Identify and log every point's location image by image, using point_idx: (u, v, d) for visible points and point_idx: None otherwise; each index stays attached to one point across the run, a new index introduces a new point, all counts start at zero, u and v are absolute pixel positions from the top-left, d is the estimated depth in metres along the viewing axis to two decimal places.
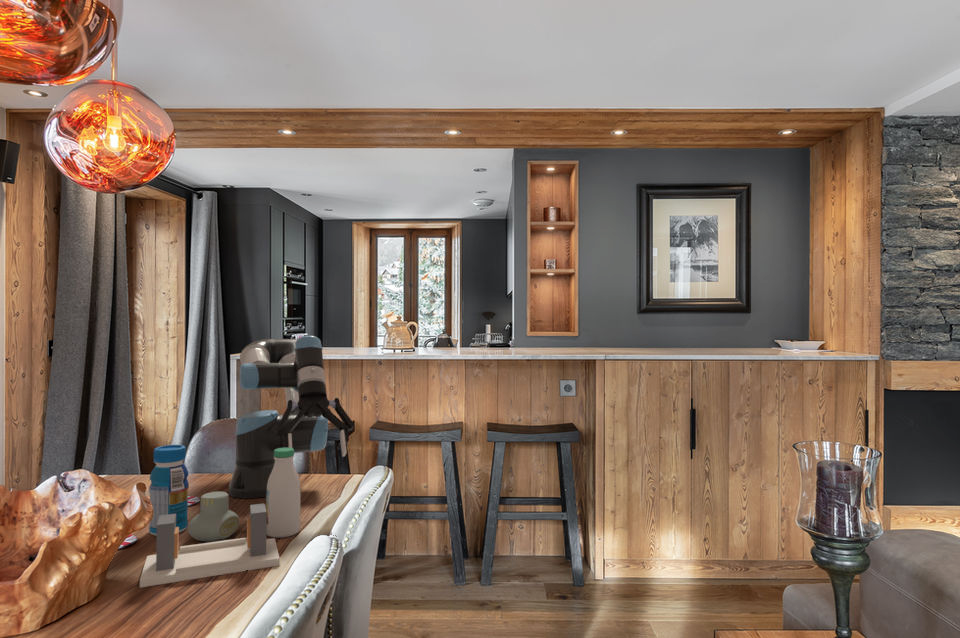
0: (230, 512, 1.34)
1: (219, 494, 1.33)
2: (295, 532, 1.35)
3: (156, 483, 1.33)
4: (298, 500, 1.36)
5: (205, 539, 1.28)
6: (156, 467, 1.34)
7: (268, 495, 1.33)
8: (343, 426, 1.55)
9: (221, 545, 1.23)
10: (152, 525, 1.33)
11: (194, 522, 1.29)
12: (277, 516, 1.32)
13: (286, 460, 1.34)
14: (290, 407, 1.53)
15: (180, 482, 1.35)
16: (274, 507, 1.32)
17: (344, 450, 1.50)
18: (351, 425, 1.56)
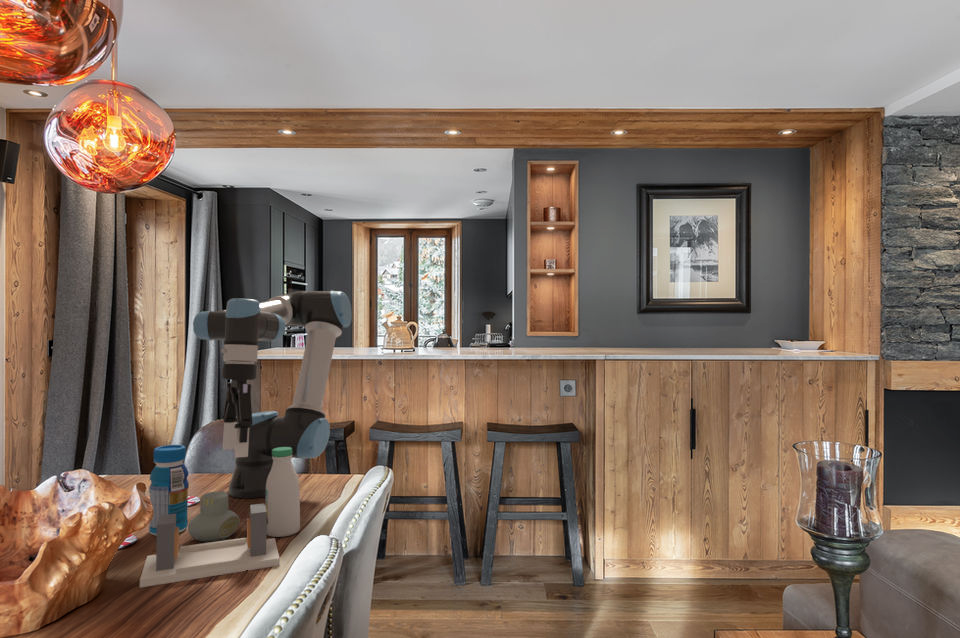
0: (230, 512, 1.34)
1: (220, 494, 1.33)
2: (295, 531, 1.35)
3: (156, 483, 1.33)
4: (297, 499, 1.36)
5: (205, 539, 1.28)
6: (156, 467, 1.34)
7: (267, 495, 1.34)
8: (237, 423, 1.29)
9: (221, 545, 1.23)
10: (152, 525, 1.33)
11: (194, 521, 1.29)
12: (277, 515, 1.33)
13: (284, 459, 1.35)
14: (227, 391, 1.40)
15: (180, 482, 1.35)
16: (273, 507, 1.32)
17: (235, 454, 1.28)
18: (239, 423, 1.27)
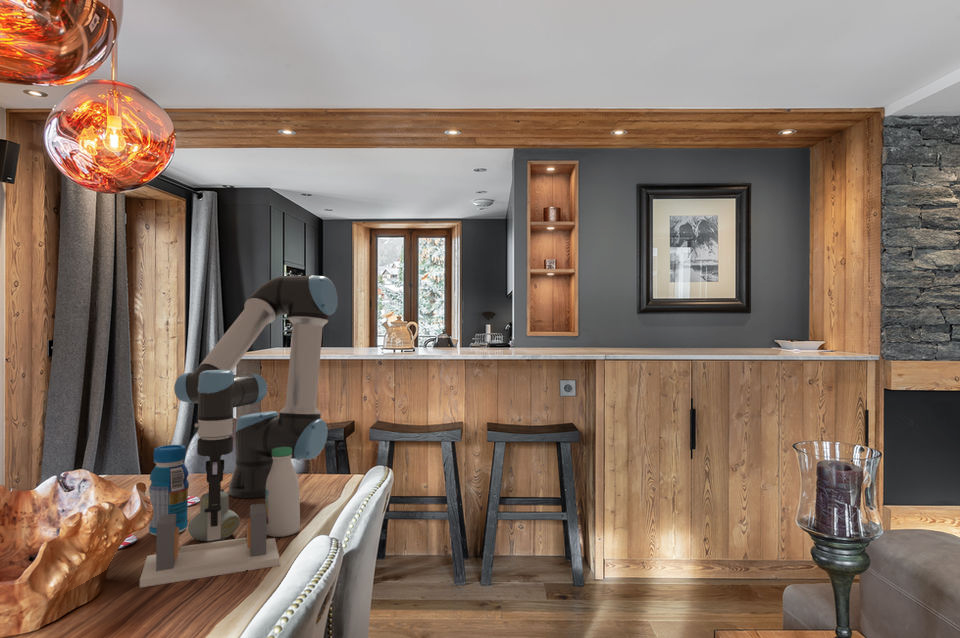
0: (230, 512, 1.34)
1: None
2: (296, 530, 1.35)
3: (156, 483, 1.33)
4: (298, 498, 1.36)
5: (205, 539, 1.28)
6: (156, 467, 1.34)
7: (268, 495, 1.33)
8: None
9: (221, 545, 1.23)
10: (152, 525, 1.33)
11: (194, 521, 1.29)
12: (278, 515, 1.33)
13: (285, 459, 1.35)
14: None
15: (180, 482, 1.35)
16: (274, 506, 1.33)
17: None
18: None
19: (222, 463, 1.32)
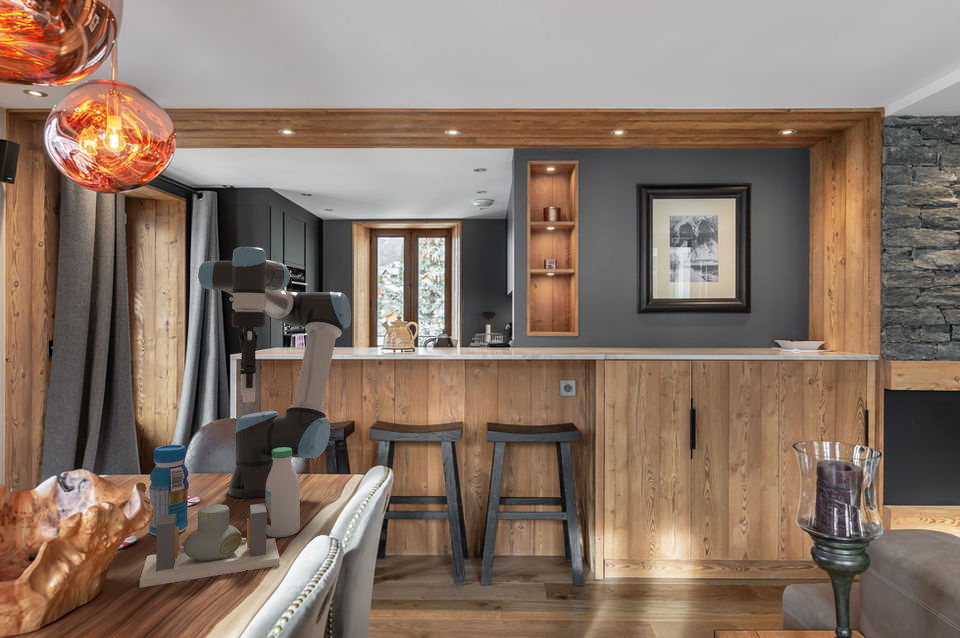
0: (231, 528, 1.19)
1: (219, 508, 1.18)
2: (298, 530, 1.36)
3: (156, 483, 1.33)
4: (299, 498, 1.37)
5: (203, 559, 1.13)
6: (156, 467, 1.34)
7: (270, 496, 1.32)
8: None
9: None
10: (152, 525, 1.33)
11: (191, 539, 1.15)
12: (282, 516, 1.32)
13: (287, 460, 1.34)
14: None
15: (180, 482, 1.35)
16: (278, 507, 1.32)
17: None
18: None
19: (255, 335, 1.38)
